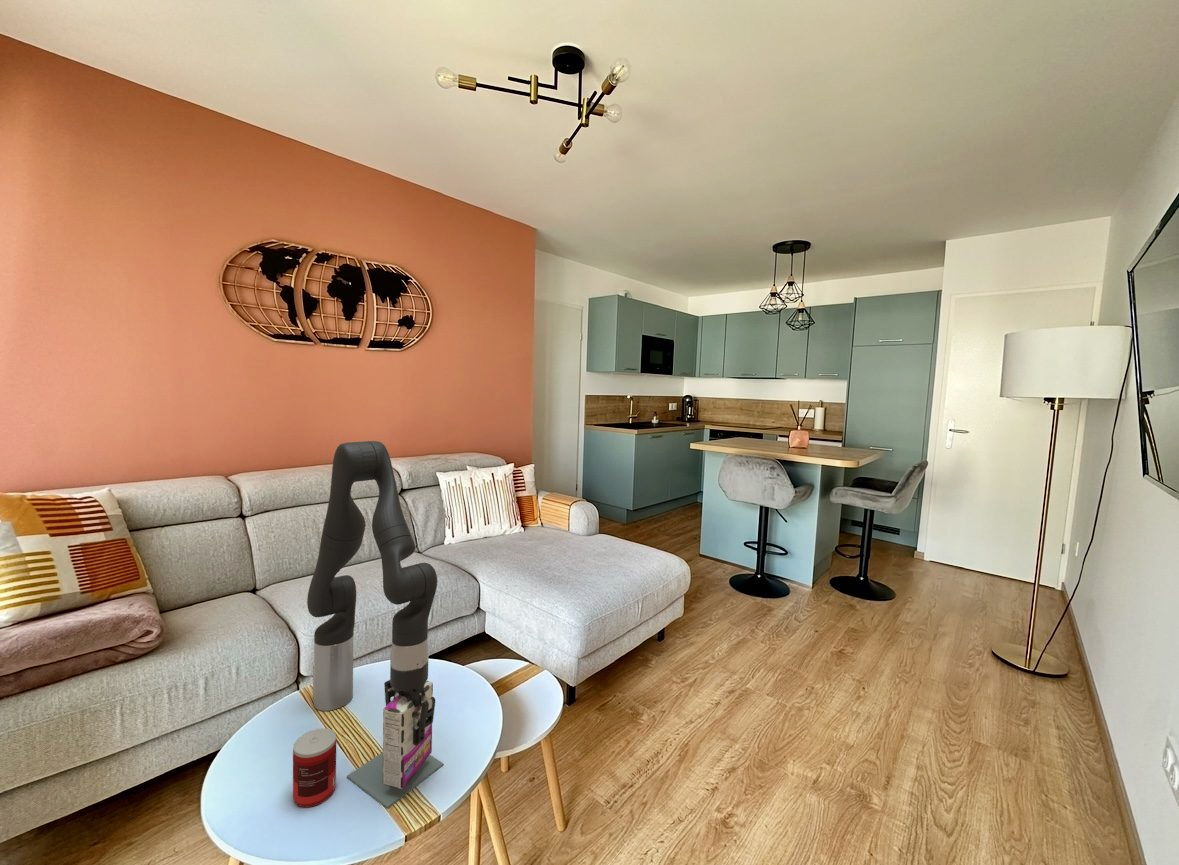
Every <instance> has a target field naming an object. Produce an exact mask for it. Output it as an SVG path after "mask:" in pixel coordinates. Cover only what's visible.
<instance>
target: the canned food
mask: <svg viewBox="0 0 1179 865" xmlns="http://www.w3.org/2000/svg"><path fill="white" fill-rule="evenodd" d="M336 784H337V734H336V732H335V731H334V730H333V729H332V728H327V727H326V728H323V727H321V728H316V729H311V730H310V731H307V732H305V733H303V734H302V735H301V736H299V737H298V738H297V739H296V740H295V742H294V743H293V747H292V798H293V801H294V803H295V804H296V805H297V806H298V807H301V808H310V807H314V806H317V805H320V804H322V803H323V802H325V801H327V800H328V799H329V798H330V797H331V795H332V794H333V793H334V791H335V788H336Z"/></svg>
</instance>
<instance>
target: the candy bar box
mask: <svg viewBox="0 0 1179 865" xmlns="http://www.w3.org/2000/svg"><path fill="white" fill-rule="evenodd" d="M433 682H434V681H429V680H427V681H426V683H425V685H424V690H425V696H427V697H428V698H431V697H434V695H433V692H434V688H433V687H434V683H433ZM403 697H404V696H401V697H395V698H393V699H391V702H390V703H389V704H388V705H387V706H386V705H385V706H384V708H383V710H382V711H383V713H382V714H383V715H382V716H383V724H382V725H383V726H382V730H383V731H382V736H383V737H382V739H383V740H382V742H383V743H382V744H383V746H382V752H383V785H386V786H391V787H395V788H398V789H403V788H404V787H405V785H406V784H407V783H408V782H409V780H410V779H411V778H412V776H413V775H414V774H415V773H416V771H417V770H418V769H419V767H420V766H421V765H422V764H423V762H424V761H425V760H426V758H427V757H428V756H429V755H431V753H432V752H433V749H432V748H433V747H432V746H433V723H432V724H431V725H429V726H427V727H426V728H425V738H424V740H423V742H421V743H420V744H418V745H417V746H415V745H414V744H413V728H414V725H413V718H412V713H413V712H414V713H415V712H416V711H417V710H419V709H420V705H419V706H418V707H414V703H413V701H409V702H408V703H407V702H406V701H404V700H403ZM417 719H418V721H419V720H420V714H419V715H418V716H417Z"/></svg>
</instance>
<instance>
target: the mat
mask: <svg viewBox="0 0 1179 865" xmlns="http://www.w3.org/2000/svg"><path fill="white" fill-rule="evenodd" d="M443 766H444V763H443V762H442V761H440V760H439V759H437V758H435V757H434V756H433V755H431V754H430V755H429V756H428V757H427V758H426V760H425V761H424V762H423V764H422V765H421V766H420V767H419V769H418V770H417V771H416V773H415V774H414V775H413V776H412V778H411V779H410V780H409V782H408V783H407V784H406V785H405V787H404V788H403V789H398V788H395V787H391V786H386V785H383V751H382V752H380V753H378V755H376V756H375V757H373V758H372V759H370V760H369V761H367V762H366V763H364V764H362V765H361V766H359V767H358V768H356V769H355V770H353V771H352V772H350V773H349V774H348V775H346V779H347V780H349V781H350V782H352V783H353V785H355V786H357V787H358V788H359V789H361V790H362V791H363V792H365V793H366V794H367V795H369V796H370V797H371V798H372V799H374V800H375V801H376V802H377V803H379V804H380V805H382V806H383V807H384V808H386V809H389V808H391V807H392V806H393V805H394V804H396V803H397V802H398V801H399V800H401V799H402V798H403V797H404V796H406V795H407V794H408V793H410V792H411V791H412V790H413V789H415V788H416V787H417V786H419V785H420V784H421V783H423V782H424V781H425V780H426V779H428V778H429V777H430V776H431V775H433V774H434V773H436V772H437V771H438V770H440V769H441V767H443Z"/></svg>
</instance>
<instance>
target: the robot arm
mask: <svg viewBox="0 0 1179 865" xmlns="http://www.w3.org/2000/svg"><path fill="white" fill-rule="evenodd" d="M365 481H366V482H367V481H375V482H376V485H377V487H378V499H377V501H376V502H377V503H376V506H375V508H374V512H373V515H372V521H371V531H372V534H373V538H374V540H375V543H376V546H377V548H378V552H379V554H380V557H381V568H382V588H383V589H382V590H383V593H384V596H385V598H386V599H387V601H388V602H390V603H391V604H393V605H397V606H398V605H402V604H407V603H408V604H407V605H406V606H404V607H403V608H402V609H400V610H398V611H397V612H396V613H395V614H394V615H393V617H392V623H391V625H392V626H391V629H392V630H391V631H392V632H391V647H390V665H389V666H390V667H389V669H390V671H389V674H390V675H389V679H388V680H387V681H385V682H384V683H383V685H384V686H383V687H384V699H385V701H384V702H385V707H386V706H387V705H388V704H389V703H390V702H391V701H392V698H393V699H394V698H395V697H401V696H404V697H403V700H404V701H406V702H407V703H408V702H409V701H413V703H414V707H418V706H419V705H420V709H419V710H417V711H416V712H415V713H414V712H413V713H412V718H413V725H414V728H413V744H414V745H415V746H417V745H418V744H420V743H421V742H423V740H424V738H425V728H426V727H427V726H429V725H431V724H432V725H433V722H434V717H435V716H434V715H435V707H436V698H435V697H434V696H433V697H431V698H428V697H427V696H425V690H424V685H425V683H426V681H428V679H429V654H430V653H429V651H430V647H429V640H428V639H429V638H428V635H429V634H428V633H429V632H428V629H429V627H428V626H429V615H430V612H431V610H432V606H433V603H434V599H435V595H436V592H437V588H438V574H437V572H436V570H435V567H433V565H431V564H430V563H428V562H419V563H416V564H412V565H407V566H404V567H402V565H401V561H404V560H406V559H407V558H409V557H410V556H412V555H413V554H414V553H415V551H416V543H415V541H414V538H413V536H412V534H411V530H410V529H409V525H408V523H407V521H406V519H405V516H404V512H403V510H402V506H401V502H400V496H399V491H398V486H397V481H396V477H395V472H394V469H393V464H392V460H391V456H390V454H389V451H388V449H387V447H386V446H385V445H384V443H383V442H381V441H378V440H377V441H376V440H370V441H369V440H367V441H352V442H350V441H349V442H348V441H347V442H344V443H340V444H339V445H338V446H337V448H336V449H335V452H334V455H333V460H332V468H331V479H330V488H329V489H330V492H329V499H328V504H327V505H328V506H327V509H326V515H325V519H324V523H323V526H322V527H323V528H322V532H321V537H320V544H319V551H318V556H317V561H316V564H315V568H314V572H313V575H312V578H311V580H310V584H309V587H308V592H307V598H306V600H307V602H306V604H307V610H308V612H309V614H310V616H312V617H313V618H324V617H328V616H331V617H330V618H329V619H328V620H326V621H325V622H323V623H322V624H320V625H319V626H318V627H317V628H316V629H315V630H314V634H313V636H314V637H313V640H314V641H313V644H314V645H313V647H314V648H313V649H314V650H313V651H314V652H313V659H314V660H313V662H314V663H313V667H312V668H313V671H312V700H313V707H314V709H316V710H318V711H323V712H325V711H327V712H328V711H335V710H337V709H340V708H342V707H344V706H345V705H348V704H349V703H350V702H351V701H352V700H353V698H354V697H353V696H354V634H355V633H354V631H355V630H354V629H355V624H356V622H355V621H356V607H357V586H356V582H355V579H354V578H353V577H352V576H351V575H350V574H349V575H348V574H347V575H346V574H345V575H339V576H336V575H337V574H338V573H339V572H340V571H341V570H342V569H343V568H344V567H345V566H346V565H347V564H348V563H349V562H350V561H351V560H352V559H353V558H354V556H355V555H356V554H357V553H358V551H359V550H360V548H361V546H362V543H363V540H364V535H365V532H366V525H367V524H366V519H365V517H364V514H363V513H362V511H361V509H360V508H359V507H358V505H357V504H356V502H355V501H354V499H353V497H352V487H353V484H354V483H356V482H357V483H358V482H365ZM335 576H336V577H335ZM419 714H420V720H419V721H418V719H417V716H418V715H419Z"/></svg>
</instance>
